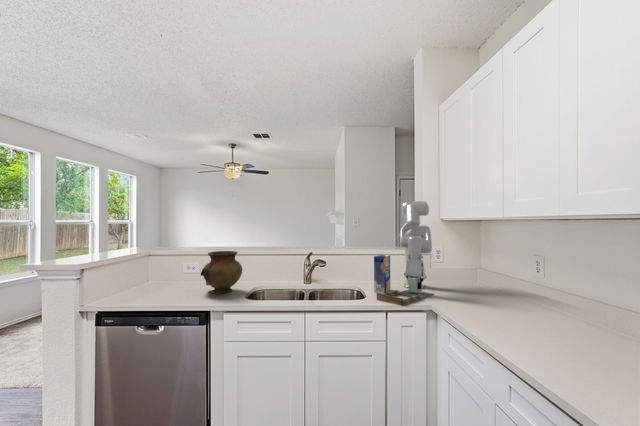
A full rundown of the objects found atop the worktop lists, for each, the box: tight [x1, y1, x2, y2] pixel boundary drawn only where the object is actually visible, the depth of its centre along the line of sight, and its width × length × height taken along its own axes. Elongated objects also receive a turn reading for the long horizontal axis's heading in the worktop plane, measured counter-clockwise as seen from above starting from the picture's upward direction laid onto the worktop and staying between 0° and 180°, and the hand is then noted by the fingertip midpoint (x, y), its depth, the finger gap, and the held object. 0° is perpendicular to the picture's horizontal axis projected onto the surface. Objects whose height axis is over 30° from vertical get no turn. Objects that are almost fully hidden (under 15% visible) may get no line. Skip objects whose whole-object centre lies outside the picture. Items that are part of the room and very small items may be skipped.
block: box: [408, 277, 423, 293], centre depth 181 cm, size 6×5×8 cm
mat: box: [398, 289, 435, 300], centre depth 181 cm, size 14×16×1 cm
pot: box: [200, 250, 243, 295], centre depth 189 cm, size 25×24×25 cm
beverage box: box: [373, 254, 391, 294], centre depth 190 cm, size 7×11×22 cm, turn 150°
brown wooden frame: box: [376, 289, 422, 306], centre depth 169 cm, size 19×16×4 cm
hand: (415, 287), depth 181 cm, fingers closed on block, 4 cm apart
